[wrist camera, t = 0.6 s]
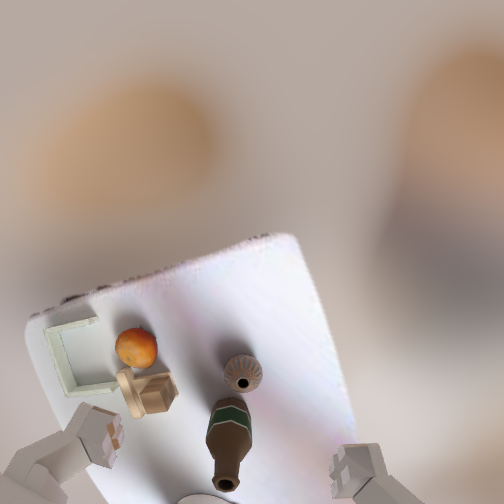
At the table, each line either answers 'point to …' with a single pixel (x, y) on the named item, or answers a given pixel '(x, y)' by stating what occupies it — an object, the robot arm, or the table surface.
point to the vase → (243, 373)
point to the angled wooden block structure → (147, 392)
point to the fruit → (136, 348)
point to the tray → (64, 366)
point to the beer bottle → (228, 441)
